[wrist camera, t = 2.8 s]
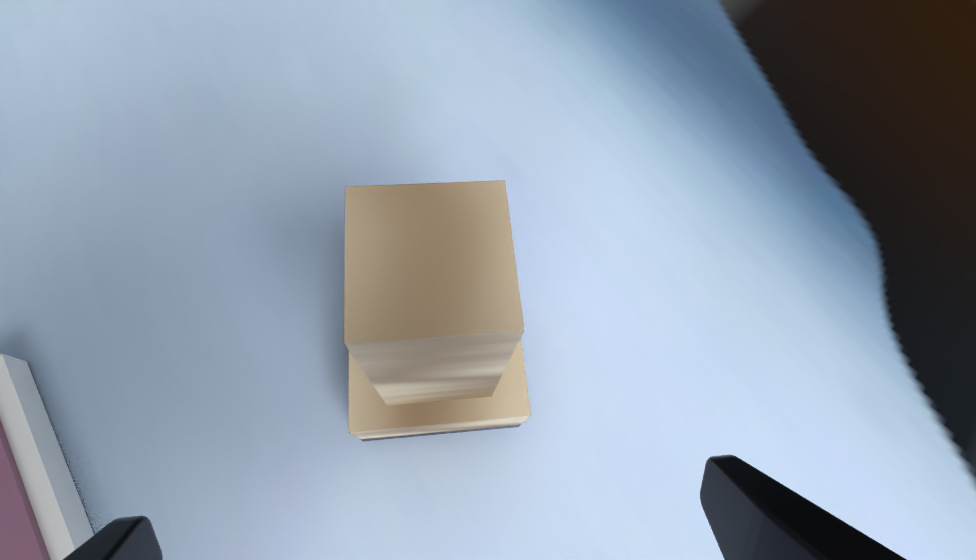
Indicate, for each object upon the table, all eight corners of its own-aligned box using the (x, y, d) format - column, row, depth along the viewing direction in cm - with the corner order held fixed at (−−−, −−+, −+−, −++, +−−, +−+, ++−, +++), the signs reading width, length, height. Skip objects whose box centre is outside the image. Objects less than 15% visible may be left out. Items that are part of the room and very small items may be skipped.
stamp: (504, 306, 22) (554, 150, 12) (518, 426, 20) (591, 362, 10) (362, 316, 21) (287, 159, 11) (363, 441, 20) (274, 388, 9)
